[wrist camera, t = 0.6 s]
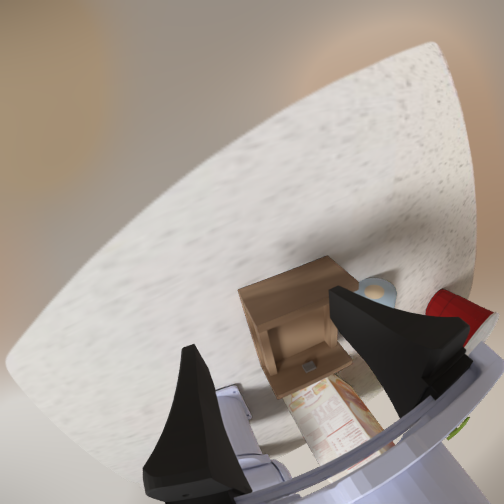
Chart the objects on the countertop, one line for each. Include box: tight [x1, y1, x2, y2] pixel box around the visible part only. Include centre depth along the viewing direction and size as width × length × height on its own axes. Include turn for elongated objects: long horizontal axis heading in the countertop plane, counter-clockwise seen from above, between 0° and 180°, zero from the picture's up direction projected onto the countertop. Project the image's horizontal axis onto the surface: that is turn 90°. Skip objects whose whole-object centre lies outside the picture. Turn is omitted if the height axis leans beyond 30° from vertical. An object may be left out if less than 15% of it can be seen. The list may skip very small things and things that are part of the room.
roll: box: [354, 278, 397, 308], centre depth 28 cm, size 8×5×5 cm, turn 12°
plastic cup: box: [426, 289, 499, 356], centre depth 33 cm, size 11×11×12 cm
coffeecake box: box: [283, 374, 395, 484], centre depth 28 cm, size 15×7×20 cm, turn 39°
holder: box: [238, 256, 359, 400], centre depth 25 cm, size 12×9×5 cm
